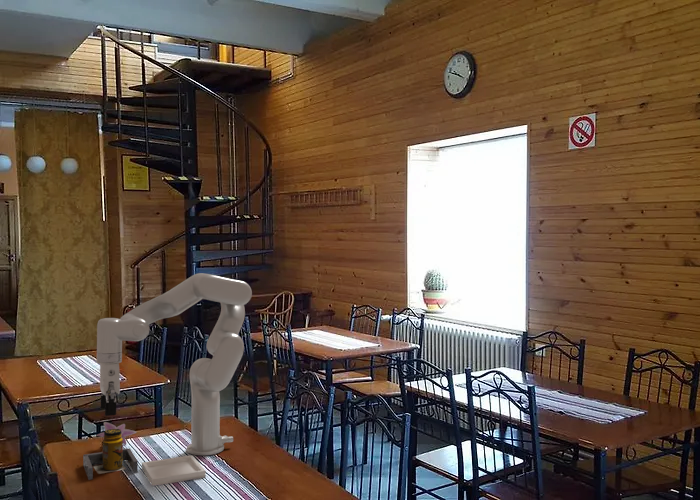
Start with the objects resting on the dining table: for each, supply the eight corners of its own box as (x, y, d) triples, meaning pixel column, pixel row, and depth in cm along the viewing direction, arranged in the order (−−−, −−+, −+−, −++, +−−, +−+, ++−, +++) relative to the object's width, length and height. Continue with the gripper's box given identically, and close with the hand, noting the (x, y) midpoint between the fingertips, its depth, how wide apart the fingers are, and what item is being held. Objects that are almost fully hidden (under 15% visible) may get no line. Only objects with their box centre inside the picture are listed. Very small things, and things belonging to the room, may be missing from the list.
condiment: (126, 469, 212) (126, 431, 212) (98, 474, 208) (98, 436, 207) (120, 462, 218) (120, 426, 218) (93, 467, 214) (93, 430, 213)
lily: (141, 449, 234) (139, 422, 238) (120, 446, 224) (119, 417, 228) (111, 457, 237) (110, 430, 241) (89, 454, 226) (89, 426, 230)
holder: (129, 458, 222) (129, 448, 222) (137, 472, 210) (137, 461, 210) (83, 465, 215) (83, 454, 215) (88, 479, 203) (88, 468, 203)
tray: (192, 461, 220) (192, 455, 220) (205, 477, 206) (205, 470, 206) (142, 468, 213) (142, 462, 213) (152, 486, 199) (152, 479, 199)
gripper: (126, 361, 206) (125, 417, 206) (117, 352, 221) (116, 403, 222) (100, 363, 202) (99, 419, 203) (93, 353, 218) (92, 406, 218)
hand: (108, 411), depth 212 cm, fingers open, 9 cm apart
